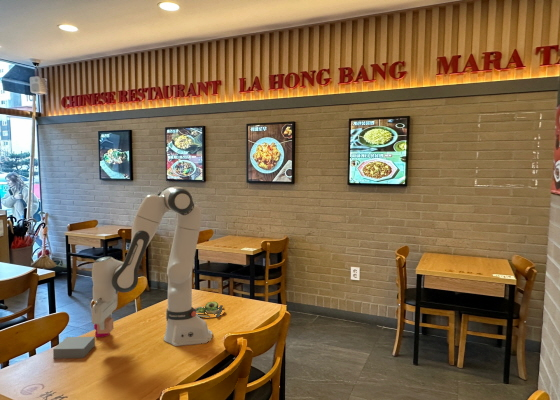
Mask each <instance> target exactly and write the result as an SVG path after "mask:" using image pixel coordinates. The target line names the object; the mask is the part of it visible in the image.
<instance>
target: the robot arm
mask: <svg viewBox="0 0 560 400" xmlns="http://www.w3.org/2000/svg"><path fill="white" fill-rule="evenodd" d="M169 211H173V212H175V213H176V214H177V220H176V224H175V225H176V226H175V230H174V234H173V240H172V244H171V250H170V253H169V257H168V264H167V267H166V275H167V277H168V278H167V282H168V283H167V308H166V312H165V313H166V315H165V317H166V328H165V333H164V337H163V340H164V341H165V342H166V343H168V344H171V345H173V346H174V347H179V346H190V345H191V346H192V345H198V344H199V345H200V344H201V343H202V344H208V343H209V342H210V341H211V340H212V339H211V338H213V336H212V335H213V331H212V330H211V329H209V328H208V324H207V322H206V320H204V318H200V317H199V316H197V315H196V308H197V307H193V305H192V303H193V301H192V300H193V296H192V295H193V293H192V292H193V267H194V263H195V256H196V251H197V245H198V240H199V235H200V231H201V225H202V210H201V208H200V206H198V205H197V204H195V203H194V201H193V197H192V195H191V192H190V191H188V190H187V189H186V188H183V187H180V186H176V185H175V186H173V185H171V186H167V187H166V188H164V189H162V190H161V192H159V193H157V194H154V193H153V194H147V195H146V196H145V197H144V198H143V200H142V202H141V203H140V205H139V207H138V209H137V210H136V213H135V216H134V219H133V221H132V226H131V236H130V237H131V241H130V245H129V248H128V250H127V254H126V255H125V258H124V261H121V260H118V259H115V258H114V257H112V256H104V257H100V258H97V259H95V261H94V262H93V263H92V268H91V281H92V284H93V286H92V301H93V302H94V304H93V305H92V307H91V308H92V309H91V323H92V324H93V325H94V324H99V326H100V330H104V329H105V324H104V320H105V319H106V318H112V313H113V312H114V311H115V310H117V307H118V294H119V293H122V294H123V293H129V292H131V291H134V289H135V288H136V287H137V285H138V283H139V275H138V274H139V267H140V265H141V263H142V259H143V257H144V254H145V252H146V249H147V247H148V246H149V244H150V243H151V241H152V239H153V238H154V236H155V234H156V233H157V231H158V230H159V227H160V225H161V222H162V220H163V217H164V215H165V214H166V213H167V212H169ZM209 340H210V341H209ZM208 341H209V342H208ZM207 342H208V343H207ZM202 344H201V345H202Z"/></svg>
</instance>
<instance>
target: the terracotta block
mask: <svg viewBox="0 0 560 400" xmlns="http://www.w3.org/2000/svg"><path fill="white" fill-rule="evenodd" d="M104 324H105V329H104V330H100V326H99V324H97V334H103V333H110V334H111V332H112V331H113V330H114V328H115V327H114V317H111V318H106V319H105V320H104Z"/></svg>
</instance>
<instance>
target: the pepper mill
mask: <svg viewBox="0 0 560 400" xmlns="http://www.w3.org/2000/svg"><path fill="white" fill-rule="evenodd" d="M93 329H94V330H95V334H94V337H95V338H105V337H107V336H110V334H111V332H110V333H103V334H97V324H93Z"/></svg>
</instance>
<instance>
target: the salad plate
mask: <svg viewBox="0 0 560 400" xmlns="http://www.w3.org/2000/svg"><path fill="white" fill-rule="evenodd" d="M218 306H220V307H219V308H218ZM202 307H203V308H202ZM204 307H205V308H204ZM222 307H223V308H224V306H223V304H220V305H219V303H218V301H210V302H209V301H208V302H207V303H205V306H198V307H195V308H196V313H205V312H206V313H207V314H214V315H215V314H217V315H216V317H215V318H219V317H221V316H220V314H221V312H222ZM218 309H219V310H218ZM196 315H197V316H198V317H210V316H208V315H201V314H199V315H198V314H196Z"/></svg>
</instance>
